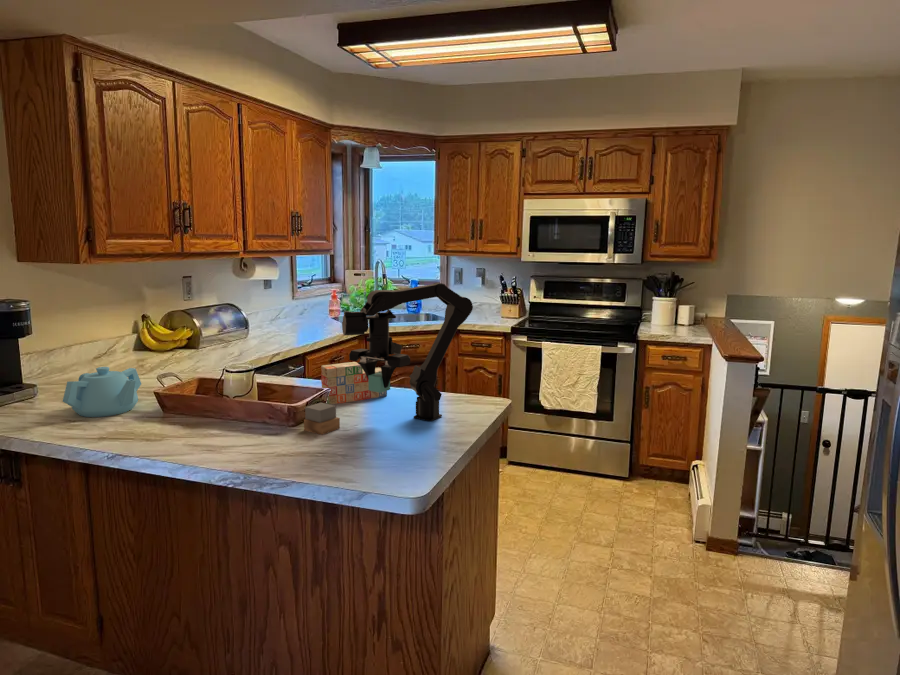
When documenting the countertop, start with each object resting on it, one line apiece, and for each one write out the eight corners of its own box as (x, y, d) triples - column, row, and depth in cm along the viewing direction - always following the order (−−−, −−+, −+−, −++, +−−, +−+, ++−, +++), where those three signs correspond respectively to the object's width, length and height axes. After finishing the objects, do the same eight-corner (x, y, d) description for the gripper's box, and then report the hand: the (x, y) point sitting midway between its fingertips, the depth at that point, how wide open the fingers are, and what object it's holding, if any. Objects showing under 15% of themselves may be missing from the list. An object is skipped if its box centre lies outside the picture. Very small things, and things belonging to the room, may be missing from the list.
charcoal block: (336, 417, 166) (335, 405, 166) (320, 422, 162) (320, 410, 161) (321, 414, 170) (320, 402, 169) (305, 419, 165) (305, 407, 164)
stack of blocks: (379, 392, 207) (379, 358, 205) (387, 396, 202) (387, 361, 200) (321, 400, 196) (320, 364, 194) (328, 405, 191) (327, 368, 189)
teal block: (390, 389, 172) (390, 374, 171) (380, 392, 168) (380, 377, 167) (378, 387, 174) (378, 372, 173) (368, 390, 170) (368, 375, 170)
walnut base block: (339, 429, 167) (339, 417, 166) (322, 436, 161) (321, 424, 161) (322, 425, 171) (321, 413, 170) (304, 431, 165) (303, 419, 164)
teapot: (63, 421, 171) (59, 375, 169) (79, 404, 188) (75, 362, 186) (137, 415, 177) (134, 371, 175) (145, 400, 195) (142, 359, 193)
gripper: (421, 333, 170) (421, 385, 173) (372, 328, 180) (372, 377, 183) (398, 338, 161) (398, 393, 163) (347, 332, 171) (348, 384, 173)
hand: (379, 386), depth 171 cm, fingers closed on teal block, 4 cm apart
